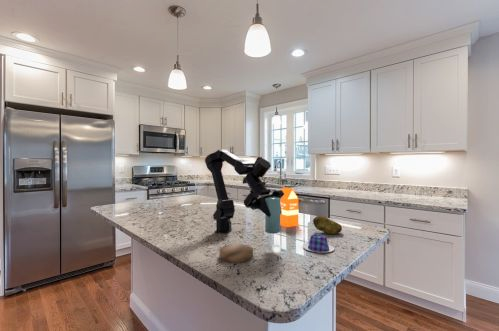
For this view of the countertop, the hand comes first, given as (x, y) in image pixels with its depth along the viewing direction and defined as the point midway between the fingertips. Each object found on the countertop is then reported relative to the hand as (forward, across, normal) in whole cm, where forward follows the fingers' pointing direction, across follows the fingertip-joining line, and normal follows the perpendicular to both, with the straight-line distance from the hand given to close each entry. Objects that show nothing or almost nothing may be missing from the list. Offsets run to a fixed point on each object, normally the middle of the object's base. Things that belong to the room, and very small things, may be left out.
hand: (275, 215), depth 98 cm
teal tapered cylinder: (+4, 0, -6) cm, 7 cm away
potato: (+11, -35, -8) cm, 38 cm away
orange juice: (-6, -34, -25) cm, 43 cm away
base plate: (+6, +16, -13) cm, 21 cm away
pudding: (+17, -14, -2) cm, 22 cm away
